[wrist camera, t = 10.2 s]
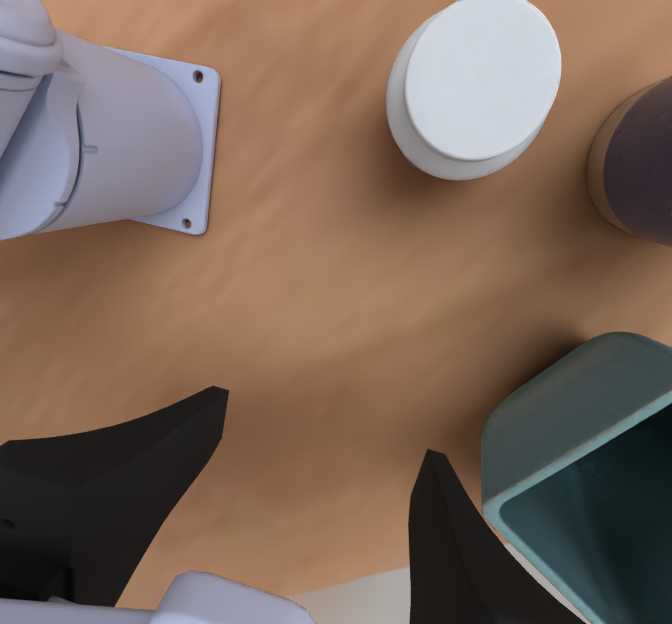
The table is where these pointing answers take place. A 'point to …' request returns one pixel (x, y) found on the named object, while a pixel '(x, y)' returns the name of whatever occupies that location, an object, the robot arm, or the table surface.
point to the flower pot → (590, 477)
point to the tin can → (636, 165)
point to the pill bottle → (473, 87)
